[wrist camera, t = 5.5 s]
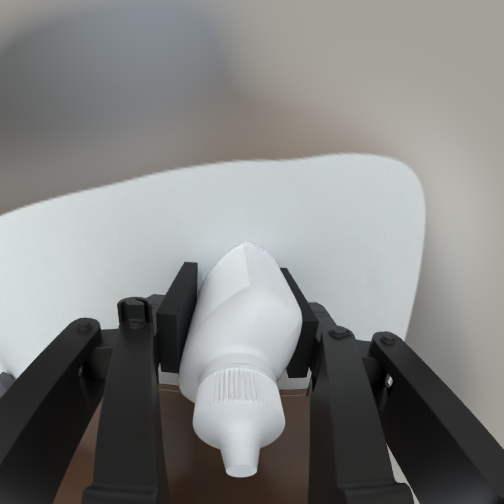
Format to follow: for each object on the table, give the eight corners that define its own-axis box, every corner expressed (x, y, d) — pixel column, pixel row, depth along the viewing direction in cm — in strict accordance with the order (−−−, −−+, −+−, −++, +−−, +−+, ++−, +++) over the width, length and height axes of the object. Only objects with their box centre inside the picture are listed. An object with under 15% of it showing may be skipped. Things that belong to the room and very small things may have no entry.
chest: (124, 458, 20) (99, 556, 7) (91, 370, 17) (18, 504, 4) (288, 470, 22) (310, 572, 9) (317, 387, 19) (377, 541, 6)
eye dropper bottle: (175, 274, 16) (89, 438, 4) (261, 231, 16) (335, 364, 4) (211, 332, 17) (194, 510, 5) (291, 294, 17) (374, 461, 5)
